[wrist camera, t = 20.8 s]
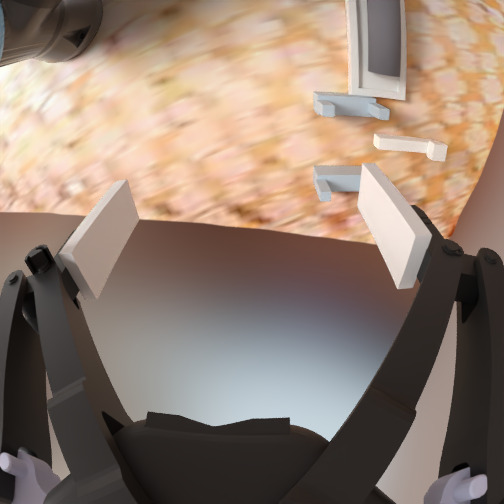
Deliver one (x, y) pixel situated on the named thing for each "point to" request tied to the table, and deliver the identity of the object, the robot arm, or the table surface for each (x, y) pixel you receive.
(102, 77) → the table surface
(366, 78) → the tray
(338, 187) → the cradle
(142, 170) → the table surface
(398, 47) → the gray cylinder
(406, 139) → the white l-shaped hook
